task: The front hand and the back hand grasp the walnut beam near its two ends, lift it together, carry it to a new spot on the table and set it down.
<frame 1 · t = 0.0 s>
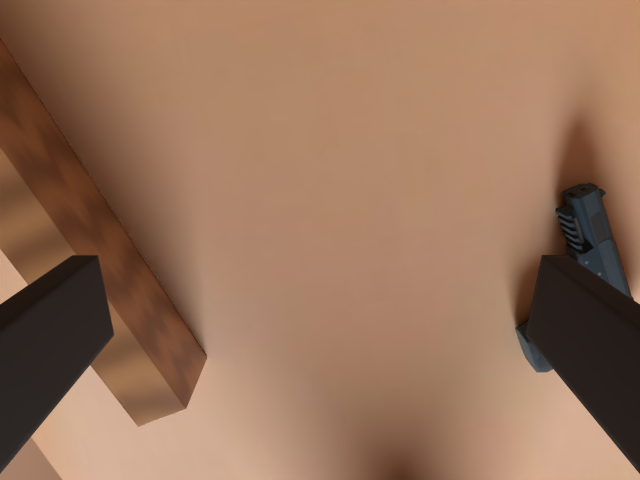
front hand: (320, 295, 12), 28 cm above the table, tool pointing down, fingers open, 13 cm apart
handgun: (555, 276, 43), on the table
beam: (52, 166, 39), on the table
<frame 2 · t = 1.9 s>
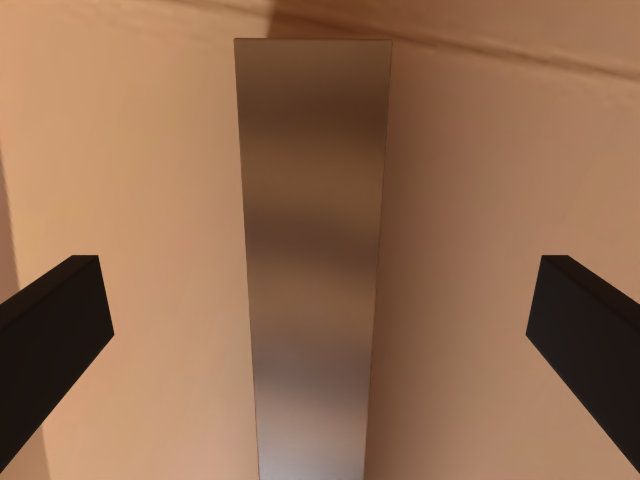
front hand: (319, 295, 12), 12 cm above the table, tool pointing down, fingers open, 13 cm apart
beam: (313, 427, 30), on the table
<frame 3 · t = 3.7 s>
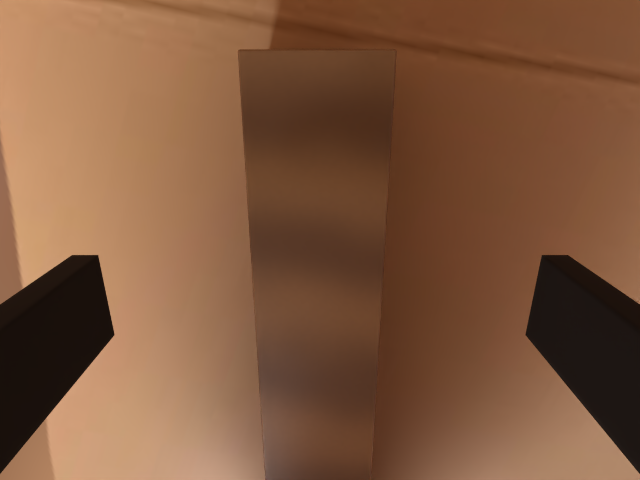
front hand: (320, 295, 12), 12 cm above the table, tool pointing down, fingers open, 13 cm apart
beam: (318, 432, 30), on the table, touching back hand
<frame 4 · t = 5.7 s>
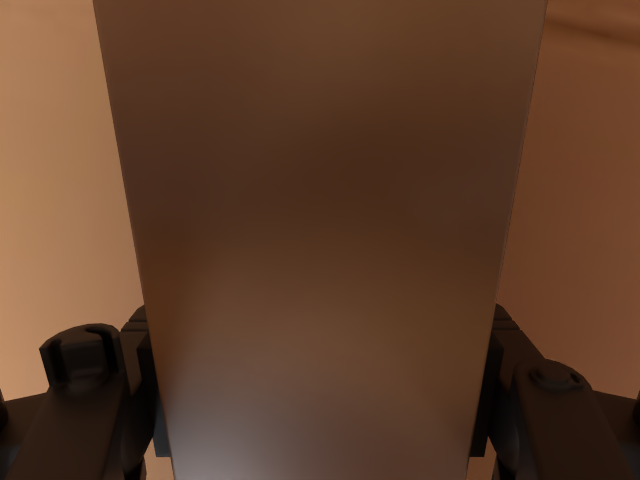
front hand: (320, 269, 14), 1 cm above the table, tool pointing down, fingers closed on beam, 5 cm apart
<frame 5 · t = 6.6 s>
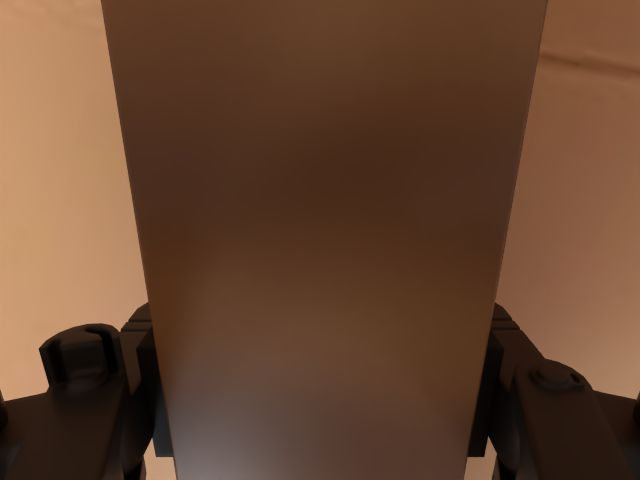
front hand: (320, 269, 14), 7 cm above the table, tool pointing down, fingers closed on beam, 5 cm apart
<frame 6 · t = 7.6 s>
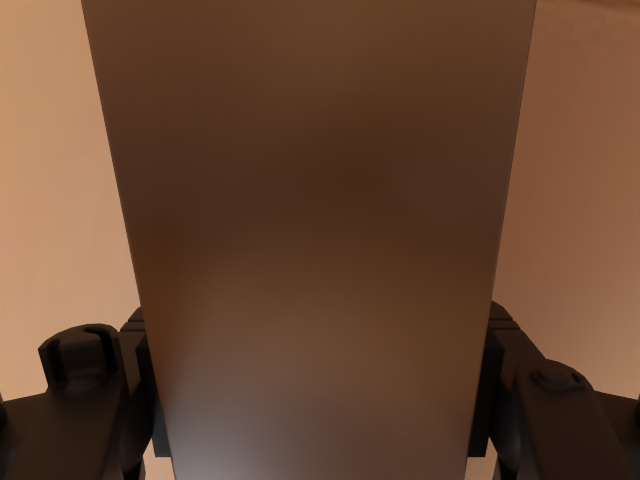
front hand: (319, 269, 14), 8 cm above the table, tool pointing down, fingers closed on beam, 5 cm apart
when the front hand's fingers open (2 cm above the table, at t = 9.9 s): beam drops 1 cm, on the table.
when the back hand's fingers open (4 cm above the table, at t = 10.1 s): beam stays where it is, on the table.
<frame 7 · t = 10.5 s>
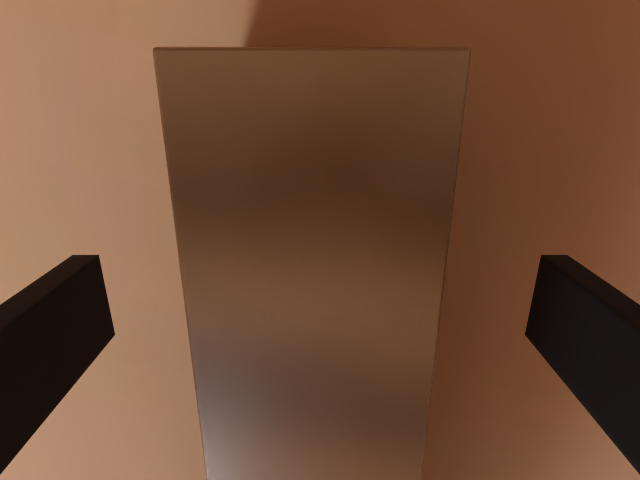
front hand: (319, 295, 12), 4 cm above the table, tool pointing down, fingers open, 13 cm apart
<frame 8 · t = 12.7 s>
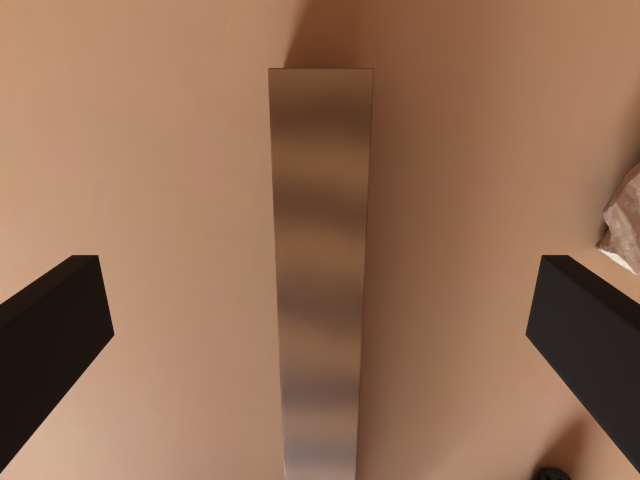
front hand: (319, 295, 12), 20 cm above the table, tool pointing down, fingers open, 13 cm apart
beam: (319, 370, 37), on the table
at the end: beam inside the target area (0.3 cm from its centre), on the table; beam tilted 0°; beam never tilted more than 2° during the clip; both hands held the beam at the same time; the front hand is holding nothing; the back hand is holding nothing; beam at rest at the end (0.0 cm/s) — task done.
